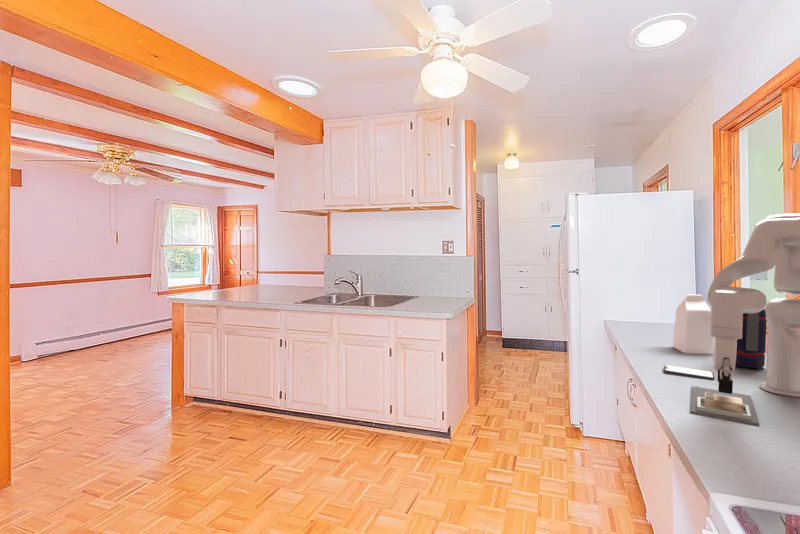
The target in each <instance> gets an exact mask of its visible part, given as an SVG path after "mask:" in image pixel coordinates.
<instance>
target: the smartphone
mask: <svg viewBox="0 0 800 534" xmlns="http://www.w3.org/2000/svg"><path fill="white" fill-rule="evenodd" d="M663 373H664V374H666V375H672V374H673V375H674V376H679V375H680V376H681V377H686V376H687V377H688V378H694V379H695V378H696V379H704V380H710V381H715V379H716V378H715V375H714V372H713V371H709V370H702V369H695V368H688V367H684V366H683V367H681V366H675V365H669V364H667V365H663Z"/></svg>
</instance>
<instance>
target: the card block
mask: <svg viewBox="0 0 800 534" xmlns="http://www.w3.org/2000/svg"><path fill="white" fill-rule="evenodd" d="M705 407H708V408H714V409H720V410H725V411H731V412H736V413H742V414H743V402H742V398H738V397H731V396H725V395H719V394H714V393H710V392H705Z"/></svg>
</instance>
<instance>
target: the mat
mask: <svg viewBox="0 0 800 534" xmlns="http://www.w3.org/2000/svg"><path fill="white" fill-rule="evenodd" d="M705 392H710V393H714V394H719V395H725V396H731V397H738V398H742V402H743V404H744V405H748V406H749V410H750V413H751V420H747V419H742V418H737V417H731V416H726V415H720V414H715V413H709V412H704V411H698V410H697V397H703V398H705ZM700 406H703V407H705V402H701V404H700ZM756 411H757V410H756V408H755V405H754V401H753V399H752V395H750V394H744V393H739V392H738V393H737V392H732V394H729V393H722V392H719V389H713V388H706V387H698V386H693V385H692V386H691V394H690V408H689V412H690V414H695V415H699V414H701V415H700V416H704V415H706V417H710V416H712V417H711V418H715V417H718V418H717V419H720V418H723V419H722V420H726V419H728V420H727V421H731V420H732V422H736V421H737V422H738V423H742V424H746V425H747V424H748V425H753V426H758V427H759V426H760V421H759V418H758V415H757V412H756ZM743 414H746V412H745V409H743Z"/></svg>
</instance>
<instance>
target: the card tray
mask: <svg viewBox="0 0 800 534" xmlns="http://www.w3.org/2000/svg"><path fill="white" fill-rule="evenodd" d="M701 402H705V398H703V397H697V410H698V411H704V412H709V413H715V414H720V415H726V416H731V417H737V418H742V419H747V420H751V413H750V410H749V406H748V405H744V404H743V409H745V412H746V414H742V413H736V412H731V411H725V410H720V409H714V408H708V407H703V406H700V404H701Z"/></svg>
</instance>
